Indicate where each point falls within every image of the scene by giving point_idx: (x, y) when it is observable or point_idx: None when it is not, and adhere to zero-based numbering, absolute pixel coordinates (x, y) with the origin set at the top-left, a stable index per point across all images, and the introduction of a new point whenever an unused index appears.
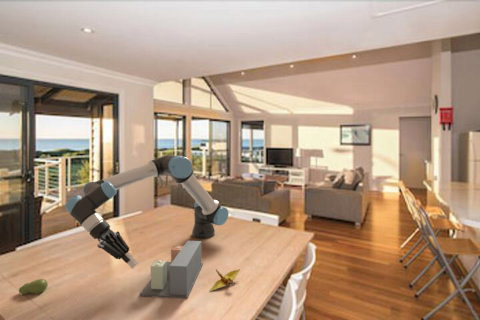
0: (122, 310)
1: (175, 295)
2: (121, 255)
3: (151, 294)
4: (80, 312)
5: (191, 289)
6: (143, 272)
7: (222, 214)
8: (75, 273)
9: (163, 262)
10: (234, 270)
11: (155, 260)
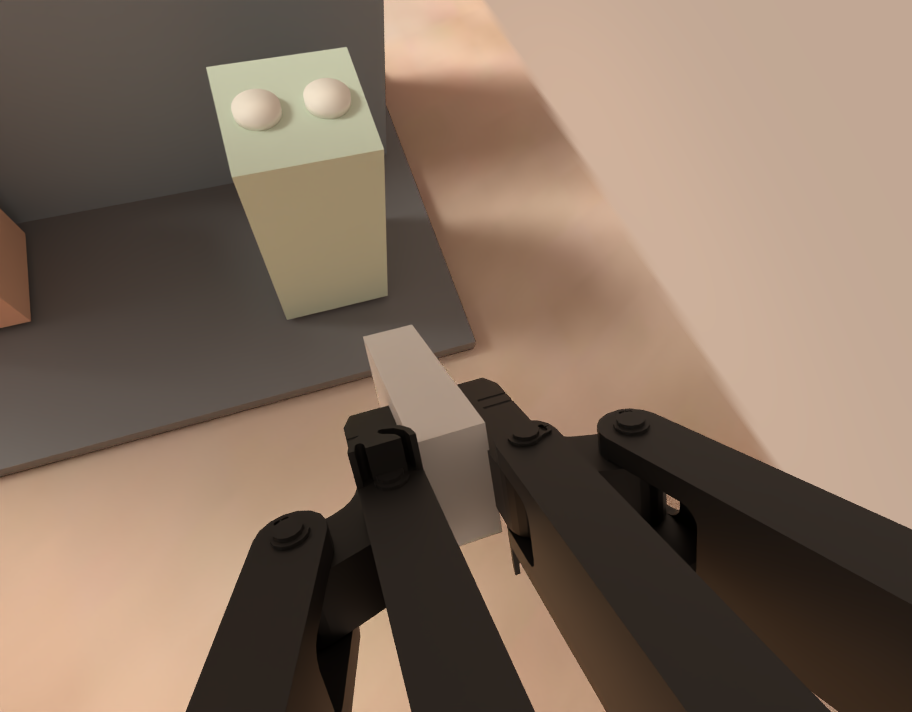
0: (644, 342)
1: (386, 120)
2: (589, 437)
3: (439, 259)
4: None
5: None
6: (98, 616)
7: None
8: None
9: (256, 76)
10: None
11: (234, 175)
